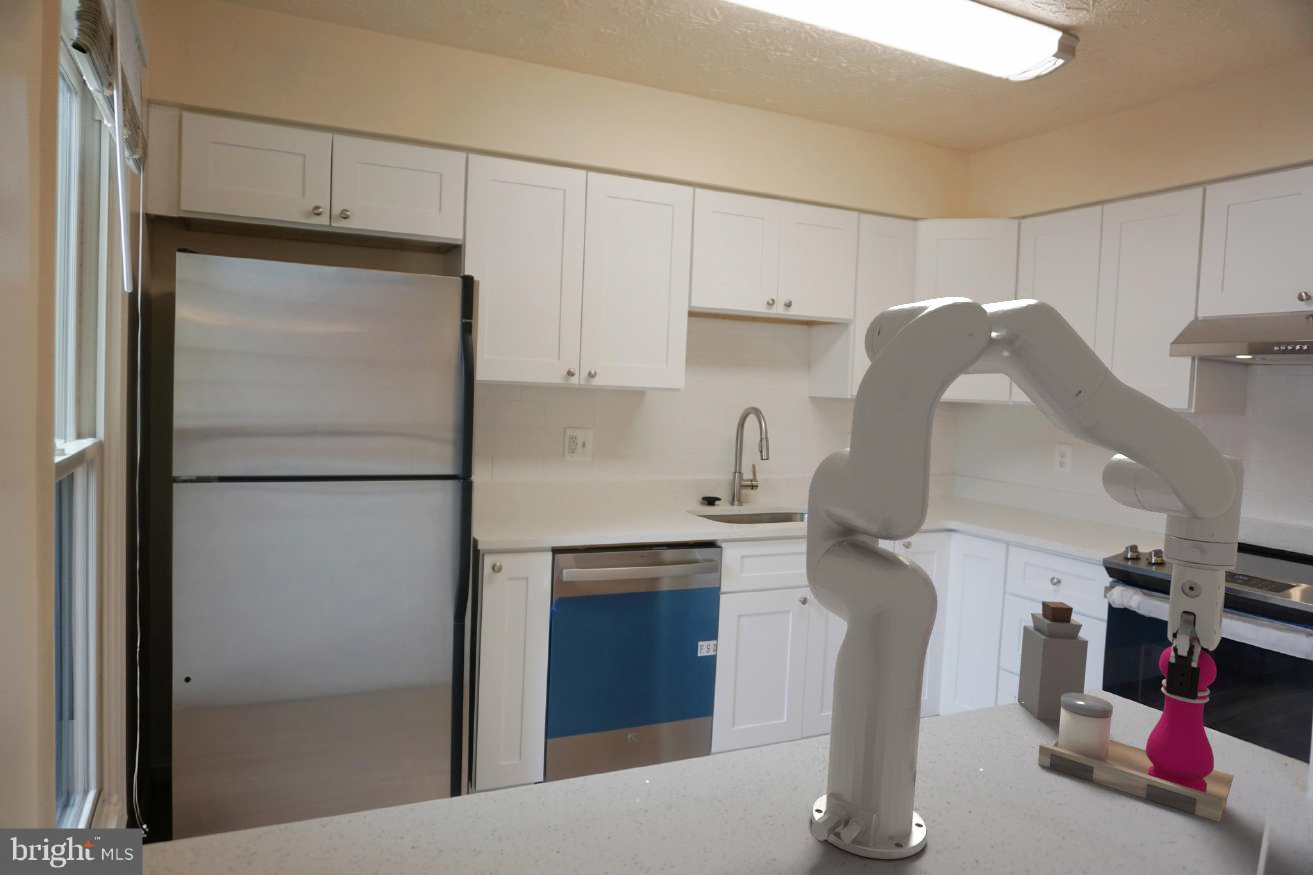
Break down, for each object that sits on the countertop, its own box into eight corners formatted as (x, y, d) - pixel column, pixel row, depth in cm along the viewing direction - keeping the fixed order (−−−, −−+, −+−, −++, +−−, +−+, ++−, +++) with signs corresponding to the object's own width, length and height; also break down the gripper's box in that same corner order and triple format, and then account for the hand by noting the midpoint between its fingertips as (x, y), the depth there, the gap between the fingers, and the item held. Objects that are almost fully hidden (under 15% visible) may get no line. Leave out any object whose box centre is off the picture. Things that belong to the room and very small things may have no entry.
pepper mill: (1156, 799, 98) (1171, 640, 96) (1133, 772, 105) (1146, 623, 104) (1222, 807, 96) (1237, 646, 95) (1194, 779, 103) (1208, 629, 102)
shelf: (1219, 830, 93) (1222, 801, 93) (1036, 771, 106) (1039, 745, 106) (1232, 782, 105) (1235, 757, 105) (1067, 734, 118) (1069, 711, 118)
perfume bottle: (1080, 727, 121) (1090, 611, 120) (1036, 724, 121) (1045, 609, 120) (1059, 709, 128) (1068, 599, 127) (1017, 707, 128) (1025, 597, 127)
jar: (1102, 774, 104) (1107, 714, 103) (1051, 758, 108) (1055, 700, 107) (1112, 759, 108) (1117, 702, 108) (1062, 744, 112) (1067, 689, 112)
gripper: (1229, 567, 90) (1215, 714, 91) (1242, 548, 103) (1230, 677, 104) (1152, 555, 95) (1139, 695, 96) (1174, 539, 108) (1163, 662, 109)
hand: (1186, 685), depth 100 cm, fingers open, 9 cm apart
